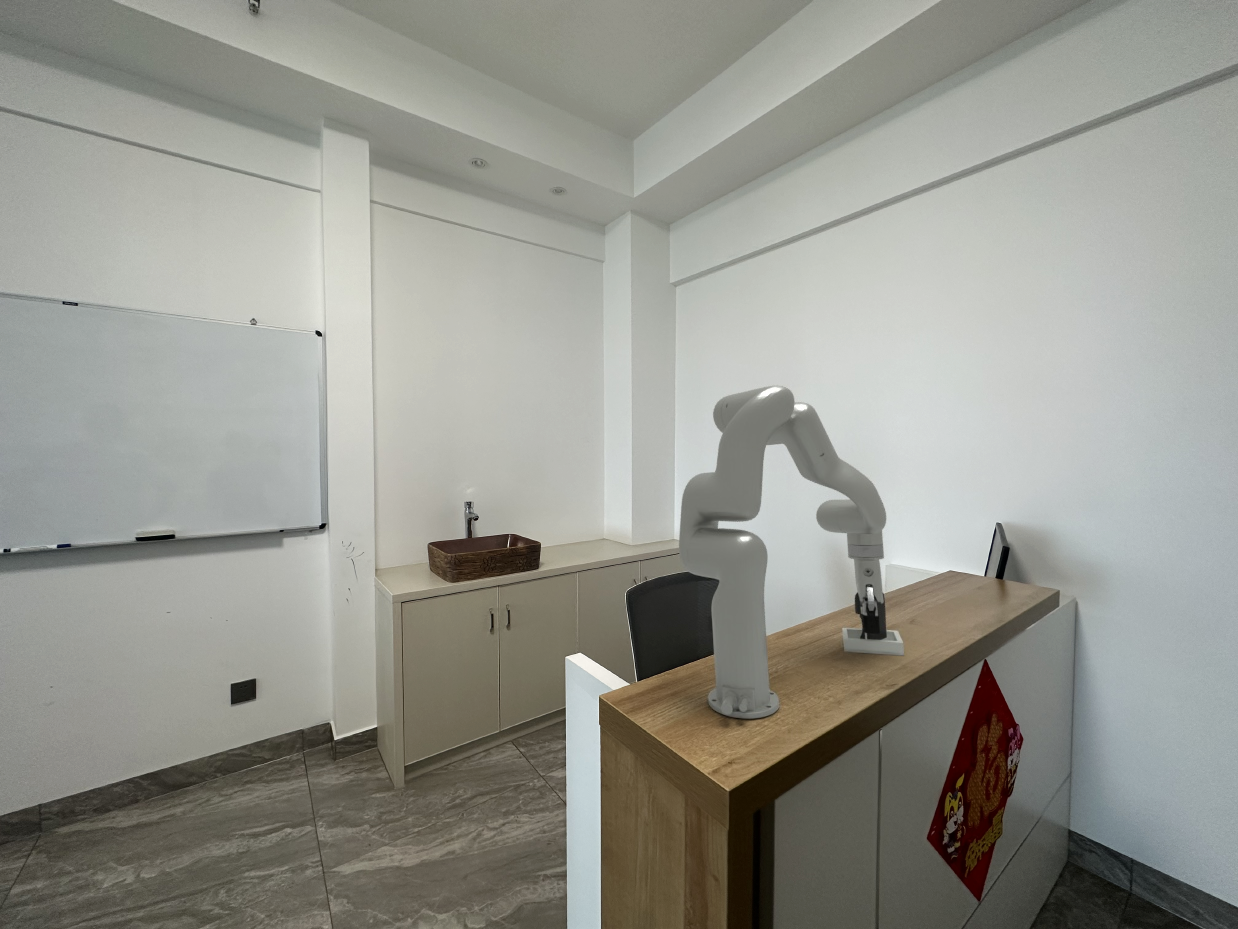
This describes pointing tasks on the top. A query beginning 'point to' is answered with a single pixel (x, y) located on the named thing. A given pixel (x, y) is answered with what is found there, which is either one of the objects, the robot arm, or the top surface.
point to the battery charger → (882, 619)
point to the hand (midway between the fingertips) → (870, 627)
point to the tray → (872, 643)
